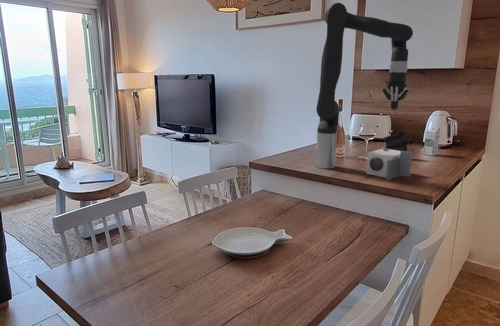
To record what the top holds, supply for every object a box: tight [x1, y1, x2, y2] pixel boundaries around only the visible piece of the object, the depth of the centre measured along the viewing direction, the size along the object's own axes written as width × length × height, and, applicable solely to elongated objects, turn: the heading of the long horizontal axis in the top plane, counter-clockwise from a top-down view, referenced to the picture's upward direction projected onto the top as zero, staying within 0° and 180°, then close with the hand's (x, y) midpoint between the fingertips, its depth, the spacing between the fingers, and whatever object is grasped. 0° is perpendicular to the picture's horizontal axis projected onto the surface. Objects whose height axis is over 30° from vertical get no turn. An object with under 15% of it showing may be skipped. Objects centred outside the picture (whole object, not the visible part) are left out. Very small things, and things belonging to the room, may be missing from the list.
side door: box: [385, 150, 413, 180], centre depth 146 cm, size 6×10×11 cm, turn 130°
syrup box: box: [423, 128, 441, 157], centre depth 198 cm, size 6×6×14 cm
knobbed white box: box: [365, 147, 401, 180], centre depth 158 cm, size 12×15×11 cm
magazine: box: [383, 130, 409, 152], centre depth 191 cm, size 4×13×15 cm, turn 35°
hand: (394, 109), depth 164 cm, fingers closed
